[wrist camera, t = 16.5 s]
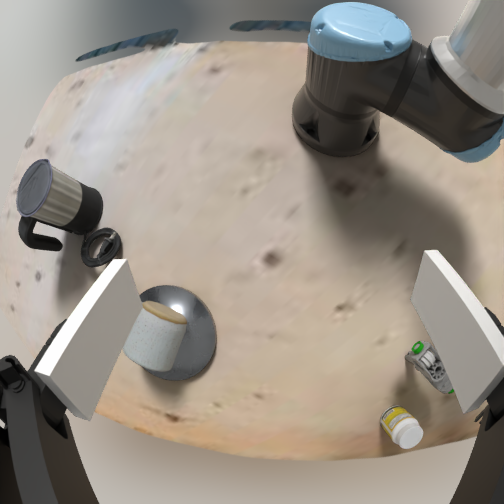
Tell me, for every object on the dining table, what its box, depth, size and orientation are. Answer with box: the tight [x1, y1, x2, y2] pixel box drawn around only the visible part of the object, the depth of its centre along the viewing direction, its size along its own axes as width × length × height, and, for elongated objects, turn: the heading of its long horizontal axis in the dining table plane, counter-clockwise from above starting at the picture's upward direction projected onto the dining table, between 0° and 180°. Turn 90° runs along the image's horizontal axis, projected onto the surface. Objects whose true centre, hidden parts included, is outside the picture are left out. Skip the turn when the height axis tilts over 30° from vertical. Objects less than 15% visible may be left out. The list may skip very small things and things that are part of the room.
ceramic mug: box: [123, 301, 187, 372], centre depth 37 cm, size 11×8×8 cm
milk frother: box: [16, 159, 121, 267], centre depth 38 cm, size 14×16×15 cm
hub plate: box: [139, 285, 217, 380], centre depth 41 cm, size 15×15×1 cm
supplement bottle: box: [380, 406, 423, 449], centre depth 32 cm, size 5×5×8 cm
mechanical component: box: [405, 341, 454, 394], centre depth 32 cm, size 3×10×10 cm, turn 44°
